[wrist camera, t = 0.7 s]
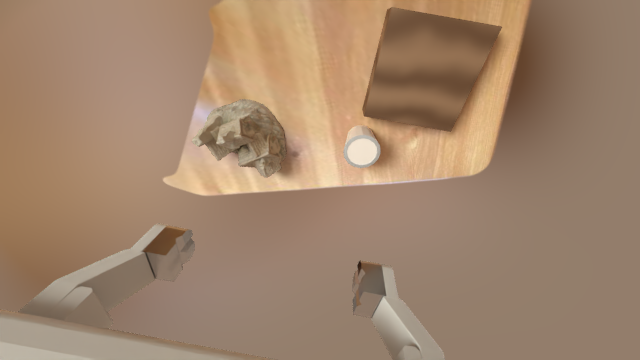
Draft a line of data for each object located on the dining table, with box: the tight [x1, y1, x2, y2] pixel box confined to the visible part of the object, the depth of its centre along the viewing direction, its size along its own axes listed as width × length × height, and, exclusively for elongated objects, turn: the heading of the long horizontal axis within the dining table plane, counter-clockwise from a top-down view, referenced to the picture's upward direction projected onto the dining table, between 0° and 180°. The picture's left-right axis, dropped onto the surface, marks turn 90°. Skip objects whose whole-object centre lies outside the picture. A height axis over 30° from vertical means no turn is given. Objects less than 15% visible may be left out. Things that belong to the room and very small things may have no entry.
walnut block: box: [363, 7, 502, 132], centre depth 39 cm, size 16×16×5 cm
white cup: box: [344, 125, 381, 168], centre depth 46 cm, size 7×7×7 cm
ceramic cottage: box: [192, 99, 286, 177], centre depth 46 cm, size 16×16×15 cm
